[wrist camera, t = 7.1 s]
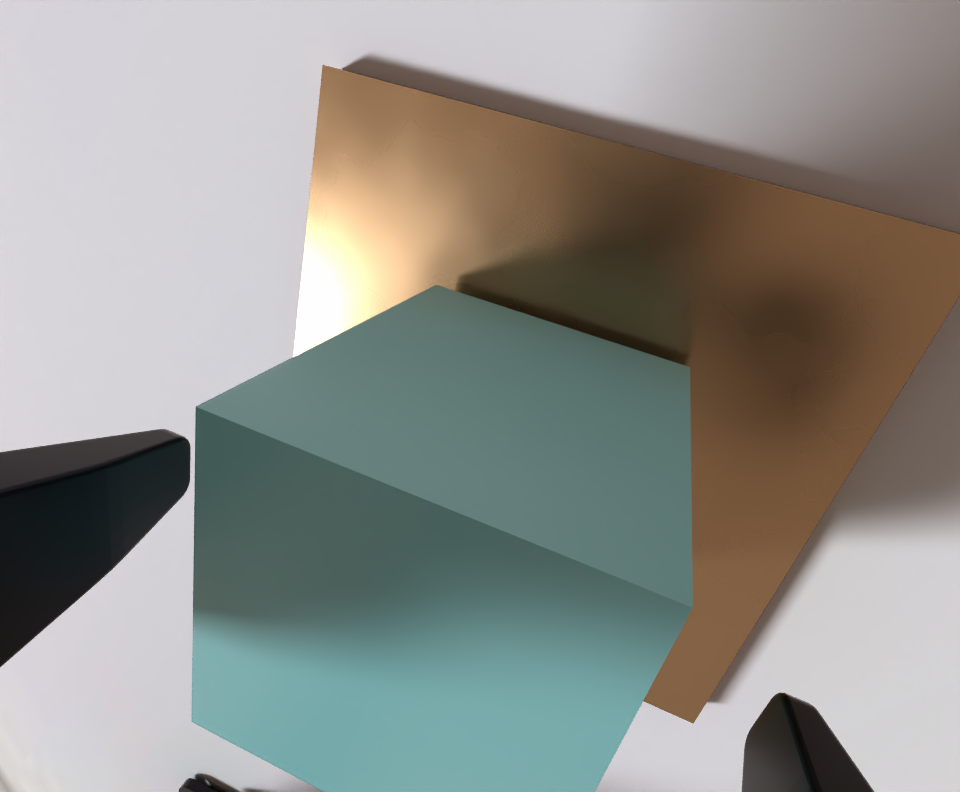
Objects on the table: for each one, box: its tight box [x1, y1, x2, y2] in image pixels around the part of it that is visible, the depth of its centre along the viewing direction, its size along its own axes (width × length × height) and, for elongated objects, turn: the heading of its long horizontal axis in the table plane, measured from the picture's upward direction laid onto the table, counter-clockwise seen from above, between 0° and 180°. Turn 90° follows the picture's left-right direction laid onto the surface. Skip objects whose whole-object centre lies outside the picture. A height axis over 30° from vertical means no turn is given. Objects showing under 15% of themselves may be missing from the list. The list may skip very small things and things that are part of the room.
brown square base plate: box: [294, 65, 960, 723], centre depth 10 cm, size 12×12×7 cm
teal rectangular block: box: [192, 285, 693, 792], centre depth 10 cm, size 5×5×7 cm
